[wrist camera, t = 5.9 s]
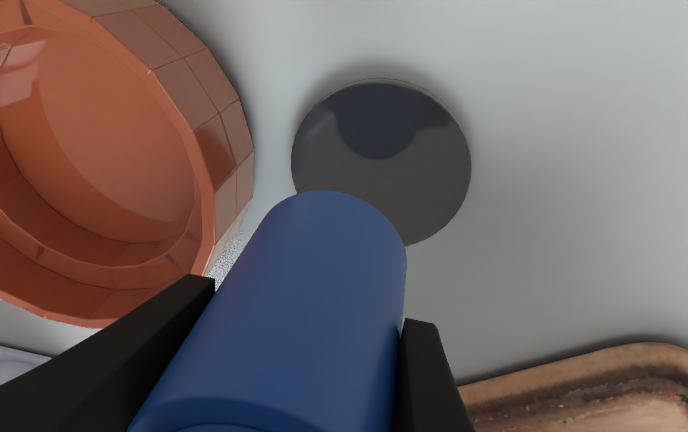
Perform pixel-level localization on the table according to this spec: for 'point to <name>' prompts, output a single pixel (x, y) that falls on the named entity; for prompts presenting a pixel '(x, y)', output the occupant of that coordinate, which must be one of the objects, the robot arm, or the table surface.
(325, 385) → the bottle
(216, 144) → the bowl
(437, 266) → the table surface
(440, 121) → the coaster
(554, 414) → the case
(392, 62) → the table surface
